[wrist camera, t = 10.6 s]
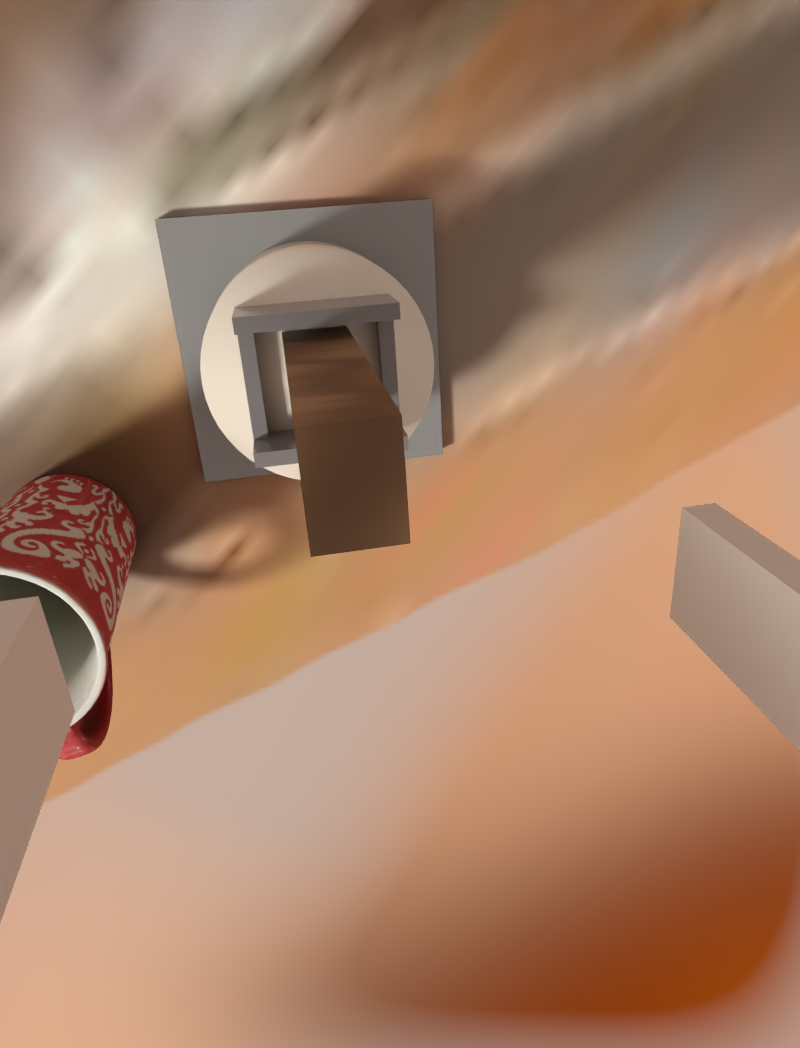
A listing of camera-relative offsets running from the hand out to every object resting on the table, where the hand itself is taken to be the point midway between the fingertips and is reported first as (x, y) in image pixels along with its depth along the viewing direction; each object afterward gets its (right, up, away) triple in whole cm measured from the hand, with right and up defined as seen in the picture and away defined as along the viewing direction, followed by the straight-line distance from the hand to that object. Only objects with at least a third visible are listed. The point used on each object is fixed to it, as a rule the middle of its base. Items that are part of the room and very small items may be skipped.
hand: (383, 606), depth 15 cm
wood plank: (-4, +9, +19) cm, 22 cm away
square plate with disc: (-5, +12, +25) cm, 28 cm away
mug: (-19, 0, +28) cm, 34 cm away
